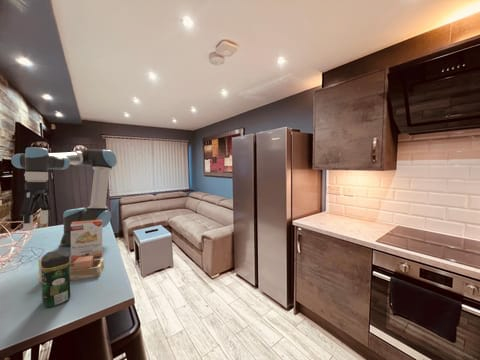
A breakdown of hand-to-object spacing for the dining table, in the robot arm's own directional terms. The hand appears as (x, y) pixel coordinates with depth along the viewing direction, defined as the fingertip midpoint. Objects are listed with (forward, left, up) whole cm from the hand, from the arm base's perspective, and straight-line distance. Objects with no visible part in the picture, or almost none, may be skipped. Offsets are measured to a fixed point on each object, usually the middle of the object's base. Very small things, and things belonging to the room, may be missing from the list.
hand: (36, 226), depth 92 cm
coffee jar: (+26, +15, -23) cm, 38 cm away
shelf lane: (+6, +18, -23) cm, 30 cm away
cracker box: (-14, +16, -23) cm, 31 cm away
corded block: (+6, +13, -23) cm, 27 cm away
